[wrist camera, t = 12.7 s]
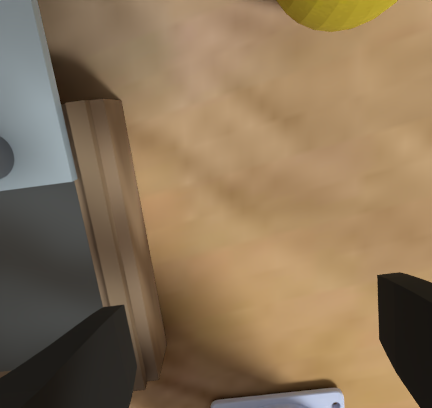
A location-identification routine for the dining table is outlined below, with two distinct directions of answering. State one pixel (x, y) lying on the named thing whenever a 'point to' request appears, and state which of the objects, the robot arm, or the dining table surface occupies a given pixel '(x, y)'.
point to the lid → (29, 104)
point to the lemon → (334, 12)
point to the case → (79, 248)
